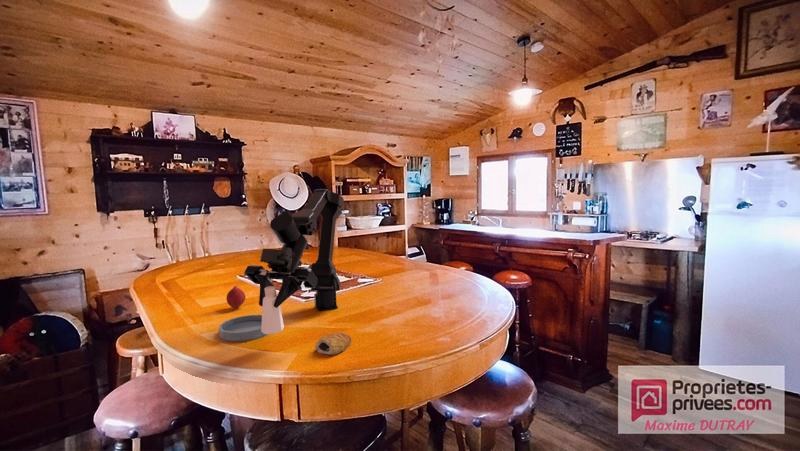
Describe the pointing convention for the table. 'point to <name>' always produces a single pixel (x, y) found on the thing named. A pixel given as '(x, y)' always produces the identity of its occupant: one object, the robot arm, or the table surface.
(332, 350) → the pastry
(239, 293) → the onion
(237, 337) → the dish
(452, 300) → the table surface
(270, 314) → the pepper shaker
